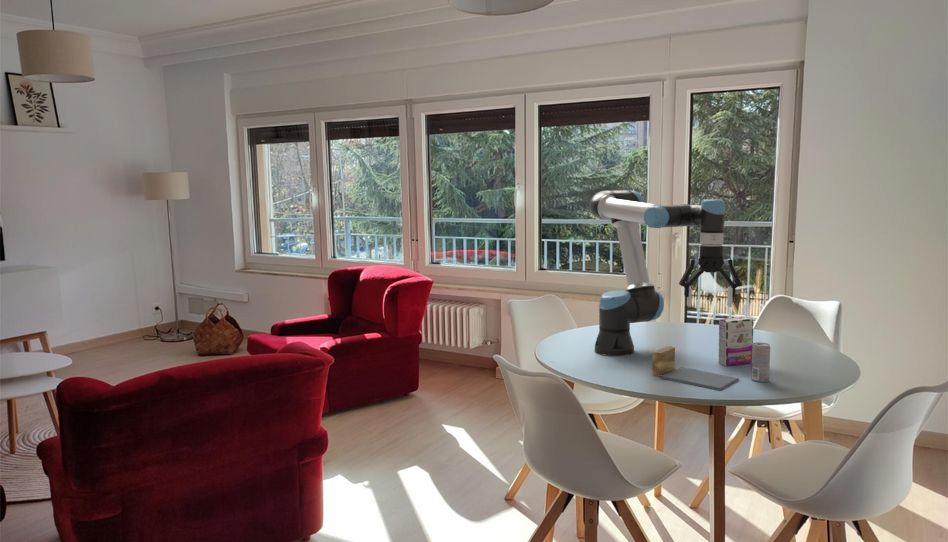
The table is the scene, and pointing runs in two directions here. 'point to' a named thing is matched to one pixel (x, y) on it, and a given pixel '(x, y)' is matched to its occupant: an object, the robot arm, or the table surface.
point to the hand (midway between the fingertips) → (709, 306)
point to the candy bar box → (735, 341)
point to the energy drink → (760, 362)
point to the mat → (700, 378)
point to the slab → (663, 360)
